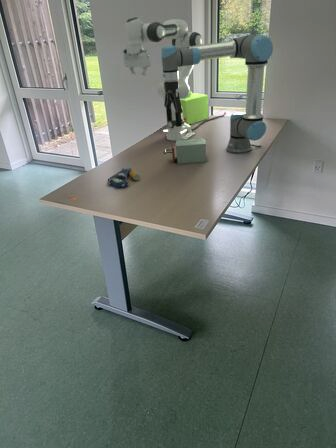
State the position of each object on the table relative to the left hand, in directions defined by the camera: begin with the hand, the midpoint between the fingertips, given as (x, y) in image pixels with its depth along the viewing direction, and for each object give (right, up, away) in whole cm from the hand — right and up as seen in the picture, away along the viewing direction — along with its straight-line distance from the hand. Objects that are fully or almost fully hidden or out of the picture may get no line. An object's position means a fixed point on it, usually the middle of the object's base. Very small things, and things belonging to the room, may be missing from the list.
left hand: (138, 75), depth 205 cm
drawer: (+26, -51, +2) cm, 57 cm away
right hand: (+21, -38, -26) cm, 50 cm away
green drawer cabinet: (+33, -51, +3) cm, 61 cm away
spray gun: (-6, -67, -18) cm, 70 cm away
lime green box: (+37, -2, +84) cm, 92 cm away
